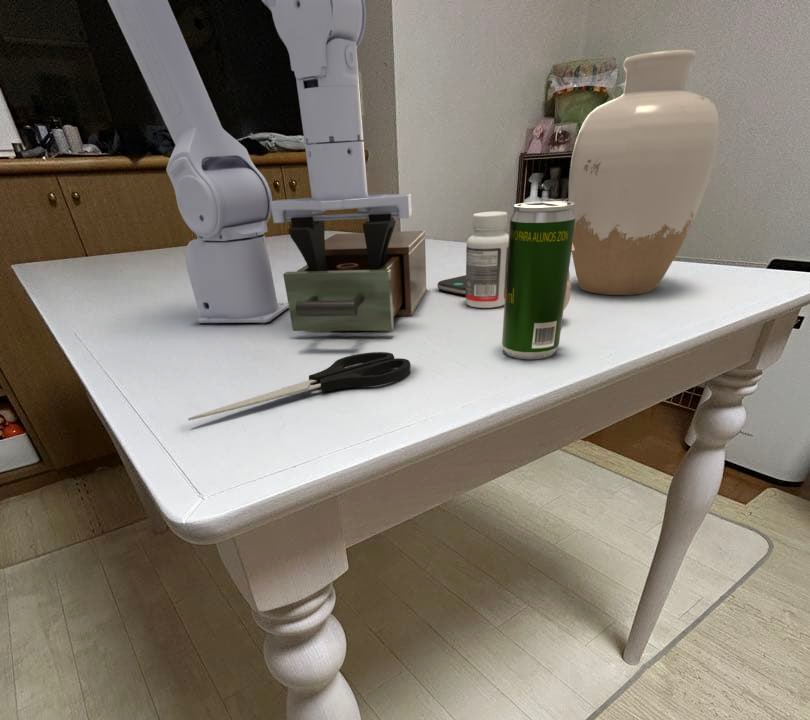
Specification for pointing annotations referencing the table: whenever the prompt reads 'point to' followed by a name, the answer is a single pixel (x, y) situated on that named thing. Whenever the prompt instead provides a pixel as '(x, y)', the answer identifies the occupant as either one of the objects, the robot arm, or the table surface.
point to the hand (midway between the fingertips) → (350, 295)
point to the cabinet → (399, 243)
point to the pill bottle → (487, 260)
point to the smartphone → (454, 285)
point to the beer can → (537, 277)
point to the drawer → (346, 295)
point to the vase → (640, 175)
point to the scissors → (336, 378)
